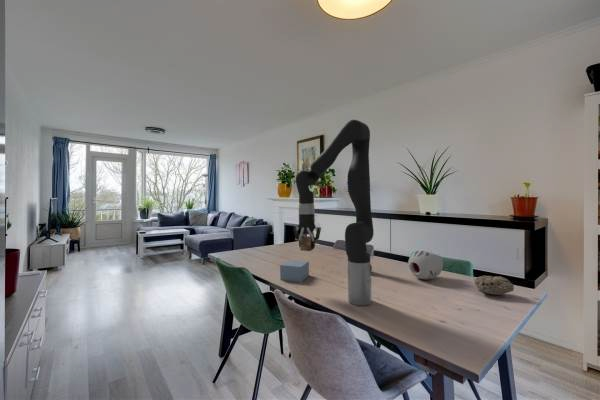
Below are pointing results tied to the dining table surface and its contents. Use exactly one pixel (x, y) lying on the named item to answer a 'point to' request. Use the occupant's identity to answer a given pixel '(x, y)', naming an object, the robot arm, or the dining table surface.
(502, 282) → the pumice stone
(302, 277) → the slate-blue plinth
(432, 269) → the decorative object
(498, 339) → the dining table surface
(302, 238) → the walnut block
